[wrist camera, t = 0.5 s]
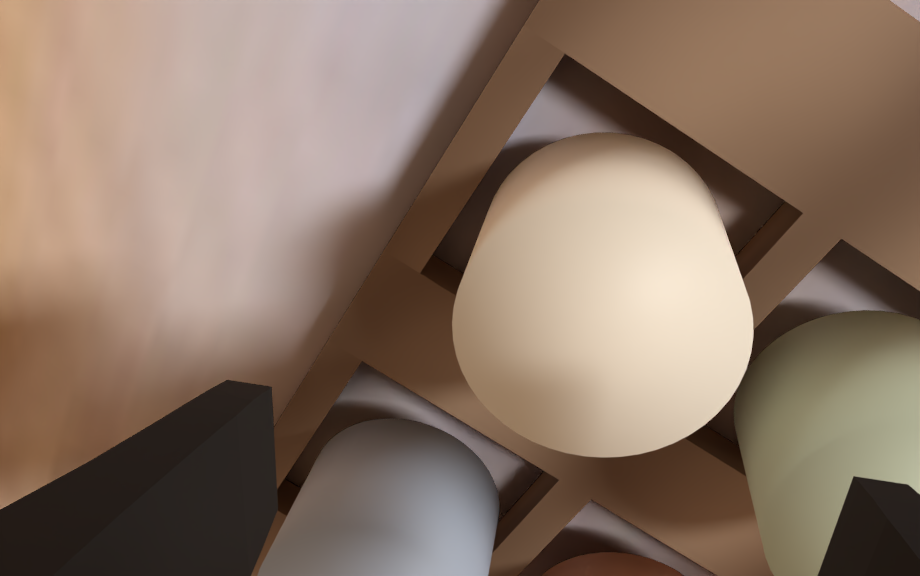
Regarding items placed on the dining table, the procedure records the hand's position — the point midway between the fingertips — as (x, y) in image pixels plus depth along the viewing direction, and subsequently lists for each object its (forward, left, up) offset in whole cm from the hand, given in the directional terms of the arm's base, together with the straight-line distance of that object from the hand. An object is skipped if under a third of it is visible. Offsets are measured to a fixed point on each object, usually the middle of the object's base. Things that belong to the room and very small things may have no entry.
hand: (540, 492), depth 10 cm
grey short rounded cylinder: (-1, +9, -9) cm, 12 cm away
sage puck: (-8, 0, -9) cm, 11 cm away
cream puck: (-1, 0, -9) cm, 9 cm away
